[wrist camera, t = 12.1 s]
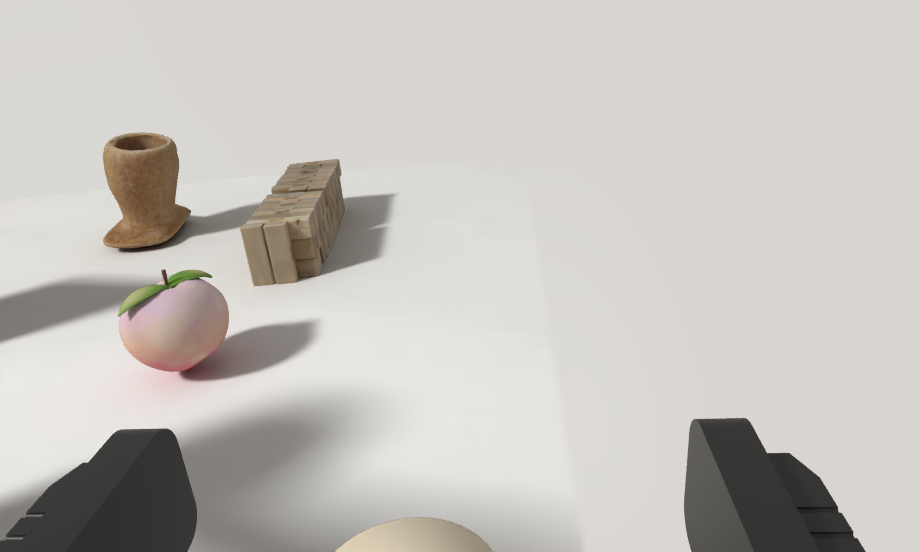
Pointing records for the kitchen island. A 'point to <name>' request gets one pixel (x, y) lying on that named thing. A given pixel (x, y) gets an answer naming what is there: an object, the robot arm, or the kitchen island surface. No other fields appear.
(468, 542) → the beige l-shaped piece
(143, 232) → the stone cup
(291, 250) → the block tower
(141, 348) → the decorative fruit
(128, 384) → the kitchen island surface
